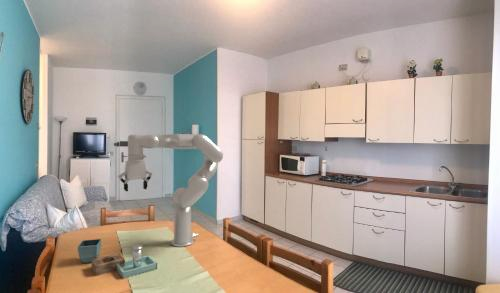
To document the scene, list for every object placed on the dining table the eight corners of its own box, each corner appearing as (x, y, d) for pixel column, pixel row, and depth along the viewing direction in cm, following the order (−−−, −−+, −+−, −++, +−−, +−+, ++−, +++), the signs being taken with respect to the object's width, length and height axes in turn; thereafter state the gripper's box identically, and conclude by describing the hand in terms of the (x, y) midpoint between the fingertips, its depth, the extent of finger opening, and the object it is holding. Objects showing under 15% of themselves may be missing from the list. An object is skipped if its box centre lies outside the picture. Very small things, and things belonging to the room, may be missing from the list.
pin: (140, 264, 136) (140, 244, 136) (144, 268, 132) (143, 247, 132) (130, 267, 133) (130, 246, 133) (133, 271, 129) (133, 249, 129)
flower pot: (77, 265, 136) (76, 246, 135) (82, 257, 144) (82, 240, 144) (97, 263, 138) (97, 245, 138) (102, 256, 146) (101, 238, 146)
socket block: (119, 261, 141) (119, 253, 140) (124, 268, 134) (124, 259, 133) (91, 268, 133) (91, 259, 133) (96, 275, 126) (95, 266, 126)
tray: (148, 260, 142) (148, 255, 142) (157, 268, 133) (157, 263, 133) (116, 269, 132) (116, 263, 132) (123, 278, 124) (123, 272, 124)
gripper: (149, 156, 161) (149, 187, 162) (116, 158, 150) (116, 190, 151) (154, 157, 155) (154, 189, 156) (120, 159, 145) (120, 193, 145)
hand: (135, 189), depth 154 cm, fingers open, 9 cm apart
